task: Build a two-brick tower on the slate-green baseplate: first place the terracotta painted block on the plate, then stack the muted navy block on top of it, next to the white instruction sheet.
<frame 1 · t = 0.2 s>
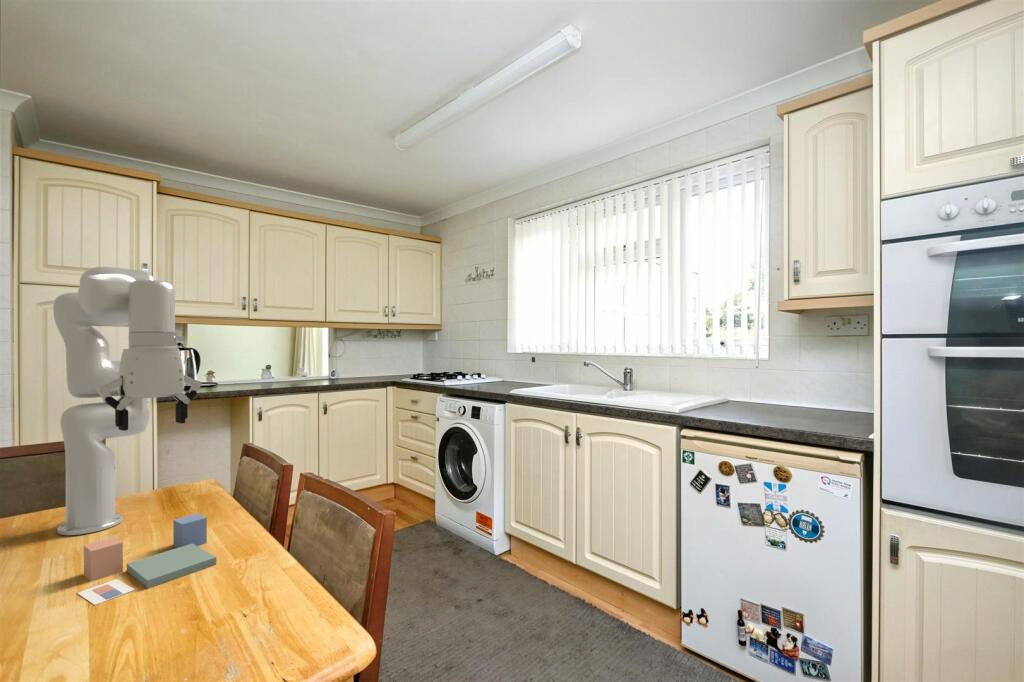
hand: (153, 426, 96), 30 cm above the table, fingers open, 9 cm apart
brick b: (190, 544, 110), on the table
baseplate: (172, 567, 99), on the table
brick a: (103, 573, 97), on the table
instruction sheet: (106, 591, 89), on the table
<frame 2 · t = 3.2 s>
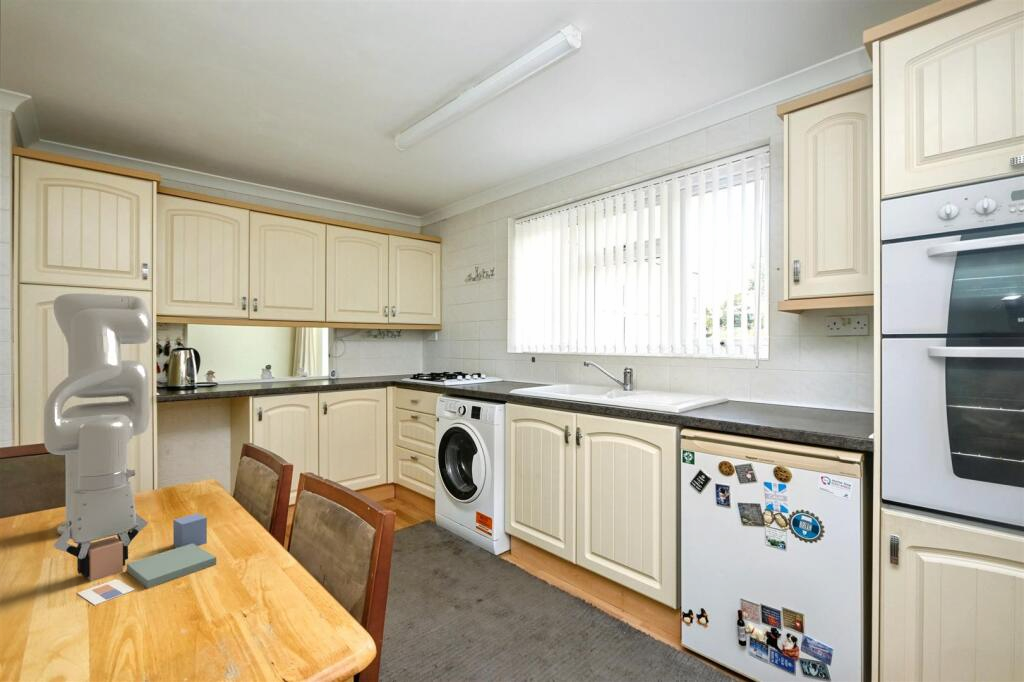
hand: (103, 568, 97), 1 cm above the table, fingers closed on brick a, 5 cm apart
brick a: (103, 572, 97), on the table, touching gripper
everything else where it was.
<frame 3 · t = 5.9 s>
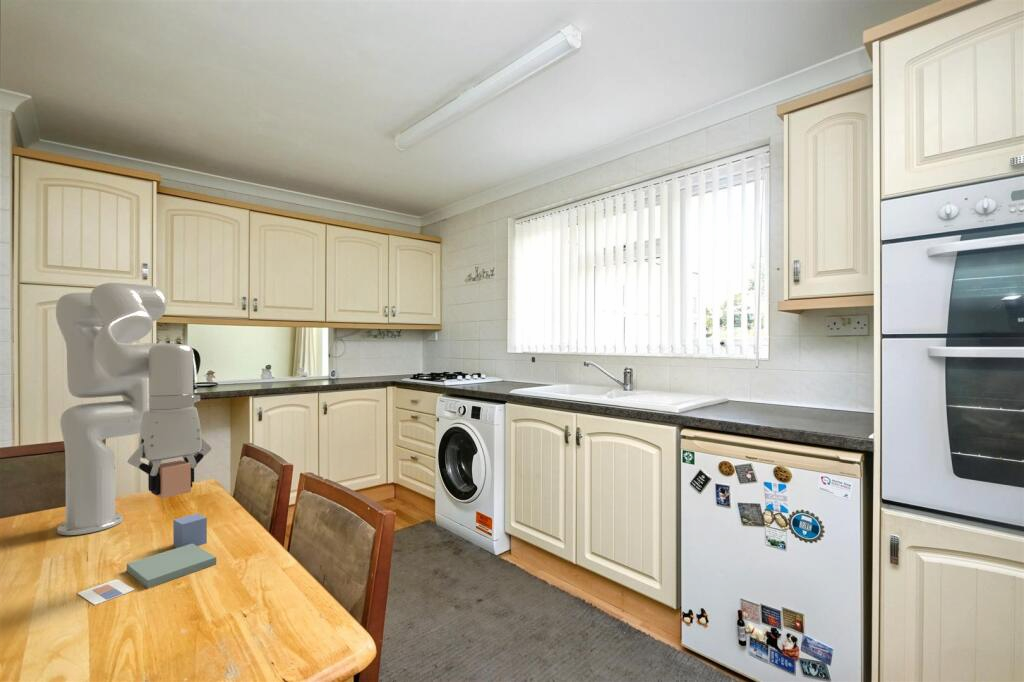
hand: (172, 489, 99), 16 cm above the table, fingers closed on brick a, 5 cm apart
brick a: (172, 493, 99), point 16 cm above the table, touching gripper
everything else where it was.
when the fingers open (3 cm above the table, at t = 8.5 s): brick a stays where it is, resting on baseplate.
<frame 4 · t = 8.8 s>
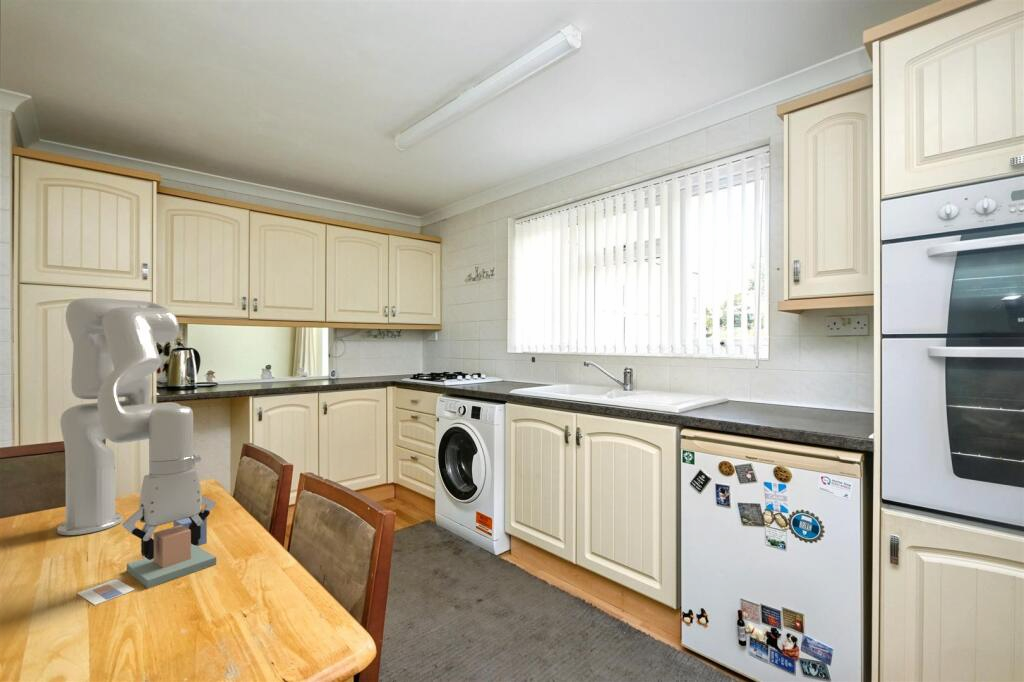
hand: (172, 550, 99), 4 cm above the table, fingers open, 7 cm apart
brick a: (172, 560, 99), point 1 cm above the table, touching baseplate
everything else where it was.
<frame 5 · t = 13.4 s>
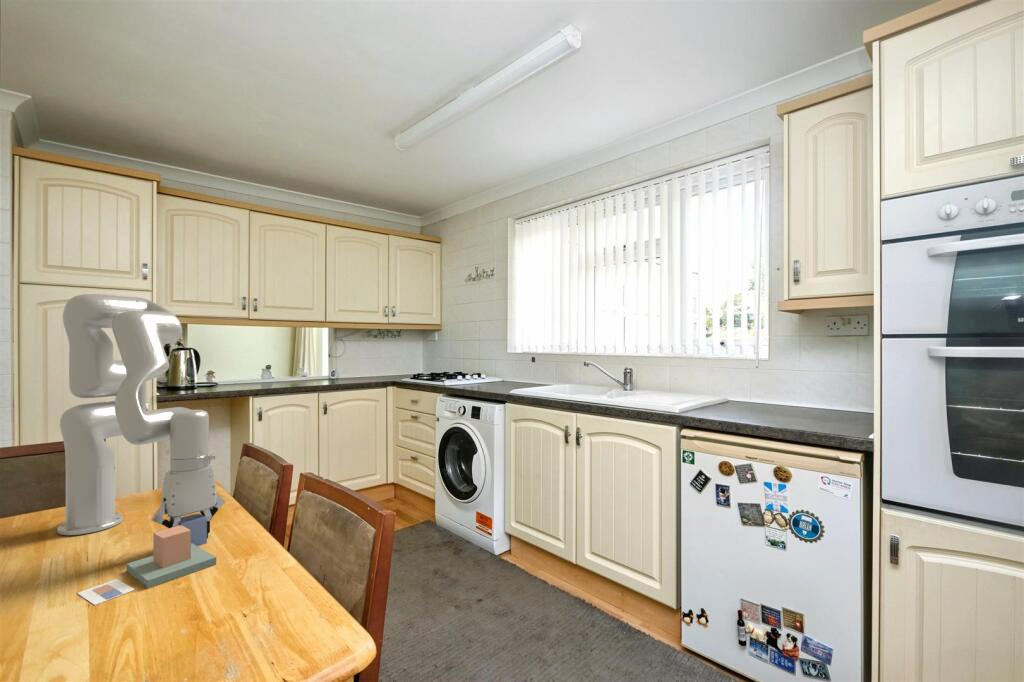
hand: (190, 540, 110), 1 cm above the table, fingers closed on brick b, 5 cm apart
brick b: (190, 544, 110), on the table, touching gripper
everything else where it was.
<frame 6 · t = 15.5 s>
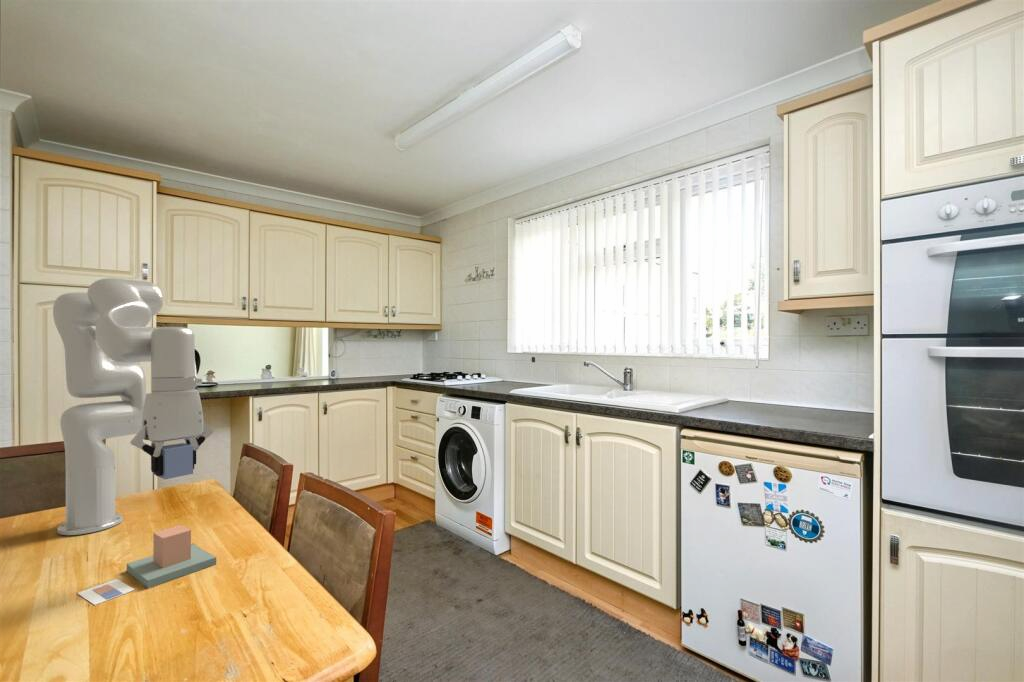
hand: (174, 470, 100), 20 cm above the table, fingers closed on brick b, 5 cm apart
brick b: (174, 474, 100), point 19 cm above the table, touching gripper
everything else where it was.
when the fingers open (9 cm above the table, at t = 17.9 s): brick b stays where it is, resting on brick a.
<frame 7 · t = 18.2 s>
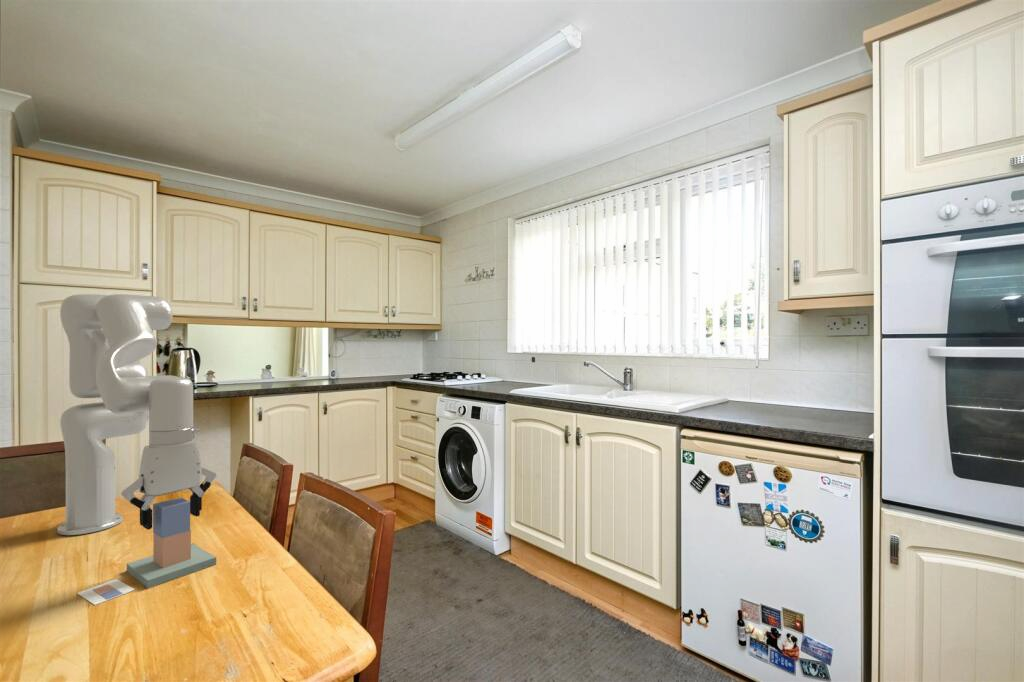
hand: (171, 520, 99), 10 cm above the table, fingers open, 8 cm apart
brick b: (171, 531, 99), point 7 cm above the table, touching brick a
brick a: (172, 560, 99), point 1 cm above the table, touching baseplate, brick b
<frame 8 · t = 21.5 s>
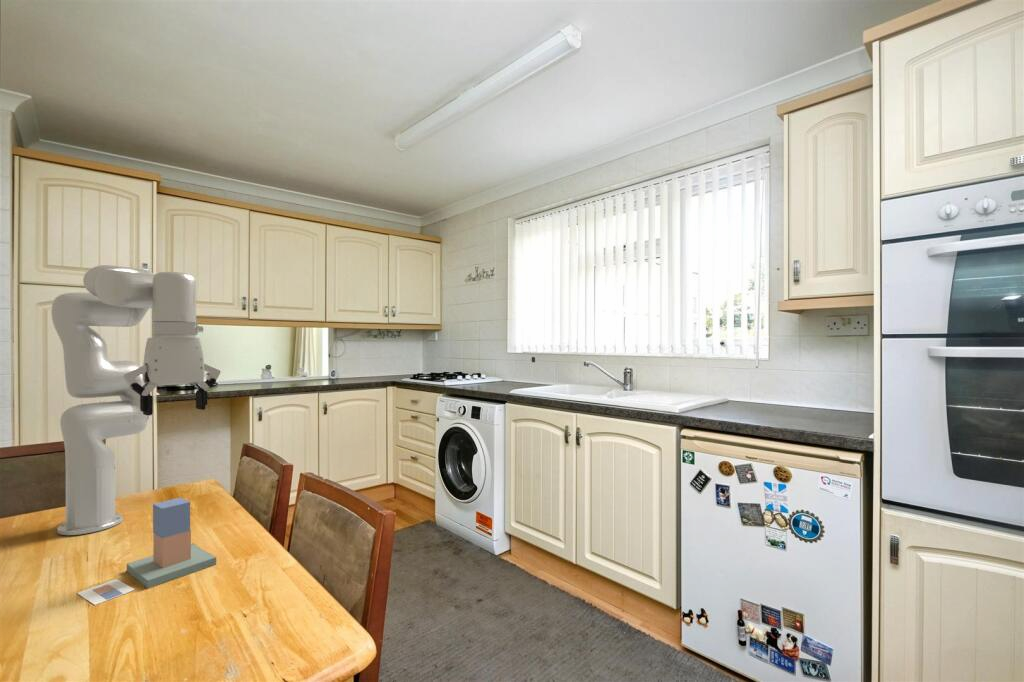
hand: (175, 411, 100), 32 cm above the table, fingers open, 9 cm apart
nothing on the table moved.
at the end: brick b 0.1 cm off-centre on the brick a, point 6.0 cm above the brick a's base; brick a inside the target area on the baseplate (0.1 cm from its centre), point 1.5 cm above the baseplate's base; brick b tilted 0° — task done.
